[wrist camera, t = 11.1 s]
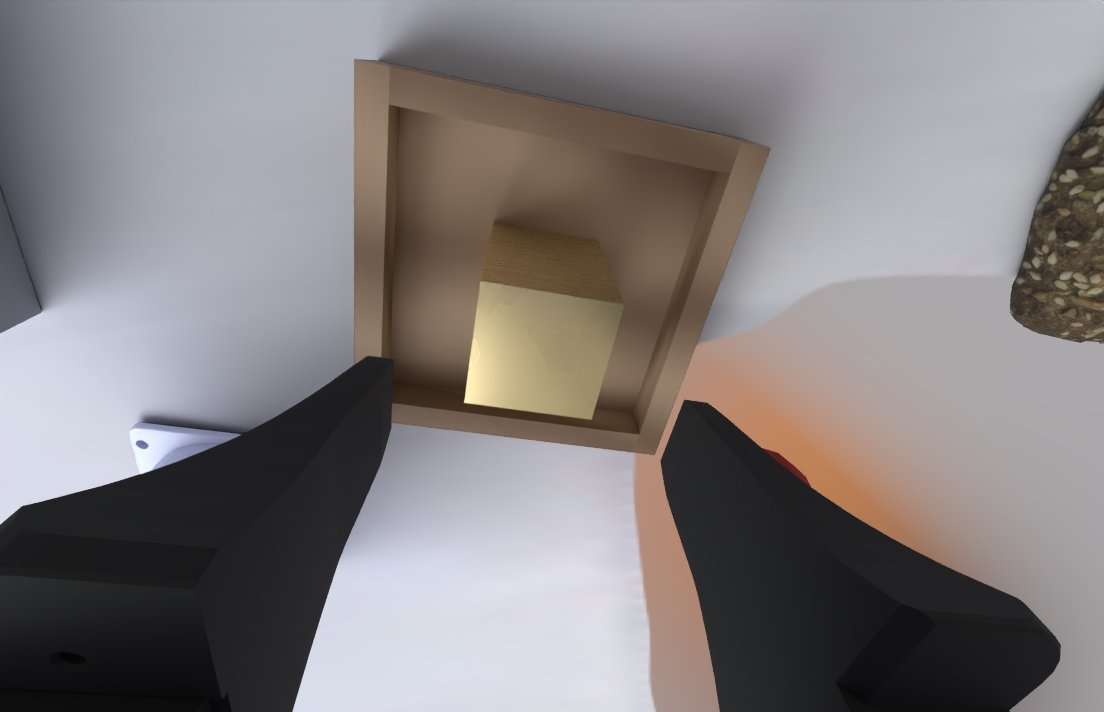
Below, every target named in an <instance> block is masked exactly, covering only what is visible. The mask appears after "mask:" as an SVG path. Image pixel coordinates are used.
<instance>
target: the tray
mask: <svg viewBox="0 0 1104 712" xmlns="http://www.w3.org/2000/svg"><path fill="white" fill-rule="evenodd" d="M770 149H771V148H769V147H766V146H763V145H760V144H757V143H753V142H750V141H747V140H744V139H740V138H736V137H731V136H726V135H722V134H717V133H712V132H708V131H703V130H698V129H694V128H689V127H684V126H680V125H675V124H670V123H666V122H661V121H656V120H652V119H647V118H642V117H638V116H633V115H629V114H624V113H619V112H615V111H610V110H605V109H601V108H596V107H591V106H587V105H582V104H577V103H573V102H568V101H563V100H559V99H554V98H549V97H545V96H540V95H535V94H531V93H526V92H521V91H517V90H512V89H507V88H503V87H498V86H493V85H489V84H484V83H479V82H475V81H470V80H465V79H461V78H456V77H451V76H447V75H442V74H437V73H433V72H428V71H423V70H419V69H414V68H409V67H405V66H400V65H395V64H391V63H386V62H381V61H377V60H359V59H354V365H355V364H356V363H358V362H359V361H361V360H362V359H363V358H365V357H366V356H375V357H382V358H389V359H394V376H393V398H392V420H391V423H398V424H407V425H415V426H423V427H431V428H439V429H447V430H455V431H463V432H472V433H480V434H488V435H496V436H504V437H512V438H520V439H528V440H537V441H545V442H553V443H561V444H569V445H577V446H585V447H594V448H602V449H610V450H618V451H626V452H634V453H643V454H650V455H655V453H656V450H657V448H658V445H659V442H660V440H661V437H662V434H663V432H664V429H665V426H666V424H667V421H668V419H669V416H670V413H671V410H672V408H673V405H674V403H675V400H676V397H677V395H678V392H679V389H680V387H681V384H682V381H683V379H684V376H685V374H686V371H687V368H688V366H689V363H690V360H691V357H692V355H693V352H694V350H695V347H696V344H697V342H698V339H699V337H700V334H701V331H702V329H703V326H704V323H705V321H706V318H707V315H708V313H709V310H710V307H711V305H712V302H713V299H714V297H715V294H716V292H717V289H718V286H719V284H720V281H721V278H722V276H723V273H724V270H725V268H726V265H727V262H728V260H729V257H730V254H731V252H732V249H733V247H734V244H735V241H736V239H737V236H738V233H739V231H740V228H741V225H742V223H743V220H744V217H745V215H746V212H747V209H748V207H749V204H750V201H751V199H752V196H753V194H754V191H755V188H756V186H757V183H758V180H759V178H760V175H761V172H762V170H763V167H764V164H765V162H766V159H767V156H768V154H769V151H770ZM493 221H494V222H500V223H505V224H511V225H516V226H522V227H527V228H533V229H538V230H544V231H549V232H555V233H560V234H566V235H571V236H577V237H582V238H588V239H593V240H598V241H599V243H600V246H601V248H602V251H603V253H604V256H605V258H606V260H607V263H608V265H609V268H610V270H611V273H612V275H613V277H614V280H615V282H616V285H617V287H618V289H619V292H620V294H621V297H622V299H623V302H624V304H625V306H624V310H623V313H622V316H621V320H620V323H619V327H618V330H617V334H616V337H615V341H614V344H613V348H612V351H611V354H610V358H609V361H608V365H607V368H606V372H605V375H604V379H603V382H602V385H601V389H600V392H599V396H598V399H597V403H596V406H595V410H594V413H593V417H592V420H590V419H582V418H575V417H567V416H560V415H552V414H545V413H537V412H530V411H522V410H515V409H507V408H500V407H492V406H485V405H477V404H470V403H464V400H465V393H466V385H467V378H468V370H469V363H470V355H471V348H472V340H473V333H474V325H475V318H476V310H477V303H478V295H479V288H480V281H481V276H482V272H483V267H484V262H485V258H486V253H487V249H488V244H489V240H490V235H491V230H492V226H493Z"/></svg>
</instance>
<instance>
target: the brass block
mask: <svg viewBox="0 0 1104 712" xmlns="http://www.w3.org/2000/svg"><path fill="white" fill-rule="evenodd" d="M624 306H625V304H624V302H623V299H622V297H621V294H620V292H619V289H618V287H617V285H616V282H615V280H614V277H613V275H612V273H611V270H610V268H609V265H608V263H607V260H606V258H605V256H604V253H603V251H602V248H601V246H600V243H599V241H598V240H593V239H588V238H582V237H577V236H571V235H566V234H560V233H555V232H549V231H544V230H538V229H533V228H527V227H522V226H516V225H511V224H505V223H500V222H494V221H493V226H492V230H491V235H490V240H489V244H488V249H487V253H486V258H485V262H484V267H483V272H482V276H481V281H480V288H479V295H478V303H477V310H476V318H475V325H474V333H473V340H472V348H471V355H470V363H469V370H468V378H467V385H466V393H465V400H464V403H470V404H477V405H485V406H492V407H500V408H507V409H515V410H522V411H530V412H537V413H545V414H552V415H560V416H567V417H575V418H582V419H590V420H592V417H593V413H594V410H595V406H596V403H597V399H598V396H599V392H600V389H601V385H602V382H603V379H604V375H605V372H606V368H607V365H608V361H609V358H610V354H611V351H612V348H613V344H614V341H615V337H616V334H617V330H618V327H619V323H620V320H621V316H622V313H623V310H624Z"/></svg>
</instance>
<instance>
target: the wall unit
mask: <svg viewBox="0 0 1104 712" xmlns="http://www.w3.org/2000/svg"><path fill="white" fill-rule="evenodd" d="M39 313H41V309H40V306H39V303H38V300H37V297H36V294H35V291H34V288H33V285H32V282H31V279H30V276H29V273H28V270H27V267H26V264H25V261H24V258H23V255H22V252H21V249H20V246H19V243H18V240H17V237H16V234H15V231H14V228H13V225H12V222H11V219H10V216H9V213H8V210H7V207H6V204H5V201H4V198H3V195H2V192H1V189H0V333H2V332H4V331H6V330H8V329H10V328H12V327H14V326H15V325H17V324H19V323H21V322H23V321H25V320H27V319H29V318H31V317H33V316H35V315H37V314H39Z"/></svg>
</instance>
